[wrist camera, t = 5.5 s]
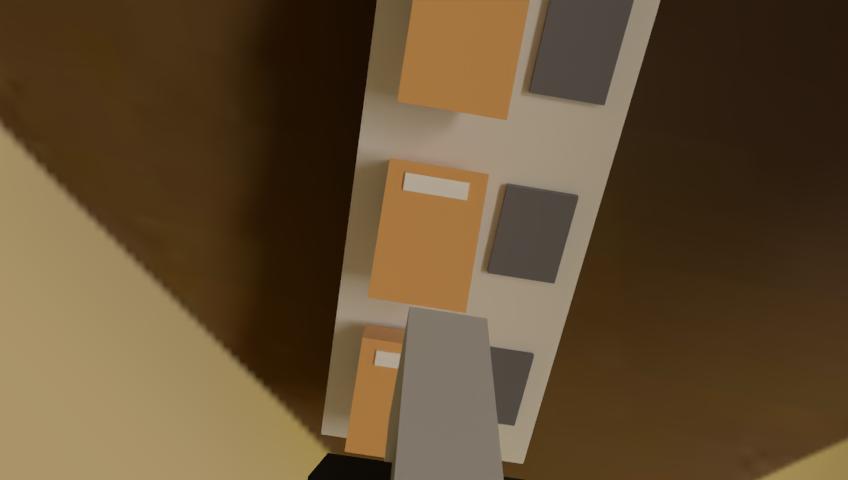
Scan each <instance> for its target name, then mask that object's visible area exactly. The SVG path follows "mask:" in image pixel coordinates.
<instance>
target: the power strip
mask: <svg viewBox="0 0 848 480" xmlns="http://www.w3.org/2000/svg"><path fill="white" fill-rule="evenodd" d="M412 3H413V0H377V4H376V12H375V20H374V27H373V35H372V43H371V51H370V58H369V66H368V74H367V82H366V89H365V97H364V105H363V113H362V120H361V128H360V136H359V144H358V151H357V159H356V167H355V175H354V182H353V190H352V198H351V206H350V213H349V221H348V229H347V237H346V244H345V252H344V260H343V268H342V275H341V283H340V291H339V299H338V306H337V314H336V322H335V329H334V337H333V345H332V353H331V360H330V368H329V376H328V384H327V391H326V399H325V407H324V415H323V422H322V430H321V434H323V435H330V436H337V437H343V438H347V433H348V427H349V421H350V414H351V408H352V401H353V395H354V388H355V382H356V376H357V369H358V363H359V356H360V350H361V343H362V337H363V332H364V328H365V324H366V325H372V326H379V327H385V328H392V329H398V330H405V328H406V323H407V317H408V312H409V306H411V307H417V308H423V309H430V310H436V311H443V312H449V313H455V314H462V315H468V316H474V317H481V318H487V323H488V333H489V342H490V352H491V362H492V371H493V381H494V391H495V401H496V410H497V420H498V430H499V440H500V449H501V459H502V461H507V462H514V463H521V464H523V462H524V459H525V456H526V452H527V449H528V445H529V442H530V439H531V435H532V432H533V429H534V425H535V422H536V418H537V415H538V412H539V408H540V405H541V402H542V398H543V395H544V391H545V388H546V385H547V381H548V378H549V375H550V371H551V368H552V365H553V361H554V358H555V354H556V351H557V348H558V344H559V341H560V338H561V334H562V331H563V327H564V324H565V321H566V317H567V314H568V311H569V307H570V304H571V300H572V297H573V294H574V290H575V287H576V284H577V280H578V277H579V273H580V270H581V267H582V263H583V260H584V257H585V253H586V250H587V246H588V243H589V240H590V236H591V233H592V230H593V226H594V223H595V219H596V216H597V213H598V209H599V206H600V203H601V199H602V196H603V192H604V189H605V186H606V182H607V179H608V176H609V172H610V169H611V165H612V162H613V159H614V155H615V152H616V149H617V145H618V142H619V138H620V135H621V132H622V128H623V125H624V122H625V118H626V115H627V111H628V108H629V105H630V101H631V98H632V95H633V91H634V88H635V84H636V81H637V78H638V74H639V71H640V68H641V64H642V61H643V57H644V54H645V51H646V47H647V44H648V41H649V37H650V34H651V30H652V27H653V24H654V20H655V17H656V14H657V10H658V7H659V3H660V0H530V2H529V7H528V12H527V17H526V23H525V28H524V33H523V38H522V43H521V49H520V54H519V59H518V64H517V69H516V75H515V80H514V85H513V90H512V95H511V101H510V106H509V111H508V116H507V120H503V119H497V118H491V117H485V116H479V115H473V114H467V113H461V112H455V111H449V110H444V109H438V108H432V107H426V106H420V105H414V104H408V103H402V102H397V99H398V93H399V86H400V80H401V74H402V67H403V61H404V54H405V48H406V41H407V35H408V28H409V22H410V15H411V9H412ZM390 158H394V159H400V160H406V161H412V162H418V163H424V164H430V165H436V166H442V167H448V168H454V169H460V170H466V171H472V172H478V173H484V174H489V177H488V183H487V189H486V195H485V201H484V207H483V213H482V219H481V225H480V231H479V237H478V243H477V249H476V255H475V261H474V267H473V273H472V279H471V284H470V290H469V296H468V302H467V308H466V313H463V312H457V311H450V310H444V309H438V308H431V307H425V306H418V305H412V304H406V303H399V302H393V301H386V300H380V299H374V298H368V292H369V286H370V279H371V273H372V267H373V261H374V254H375V248H376V242H377V236H378V229H379V223H380V217H381V210H382V204H383V198H384V192H385V185H386V179H387V173H388V167H389V160H390Z"/></svg>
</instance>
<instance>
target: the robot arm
mask: <svg viewBox="0 0 848 480" xmlns="http://www.w3.org/2000/svg"><path fill="white" fill-rule="evenodd" d="M308 480H522V479H516V478H509V477H503V469H502V459H501V449H500V440H499V430H498V420H497V410H496V401H495V391H494V381H493V371H492V362H491V352H490V342H489V333H488V323H487V318H481V317H474V316H468V315H462V314H455V313H449V312H443V311H436V310H430V309H423V308H417V307H411V306H409V312H408V317H407V323H406V328H405V334H404V339H403V345H402V350H401V356H400V361H399V366H398V372H397V377H396V383H395V388H394V394H393V399H392V405H391V410H390V416H389V423H388V432H387V441H386V451H385V460H384V461H378V460H371V459H365V458H358V457H351V456H344V455H337V454H330V453H328V454H327V455H326V456H325V457H324V458H323V460H322V461H321V462H320V463H319V464H318V465H317V467H316V468H315V469H314V470H313V471H312V473H311V474H310V475H309V476H308Z"/></svg>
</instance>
